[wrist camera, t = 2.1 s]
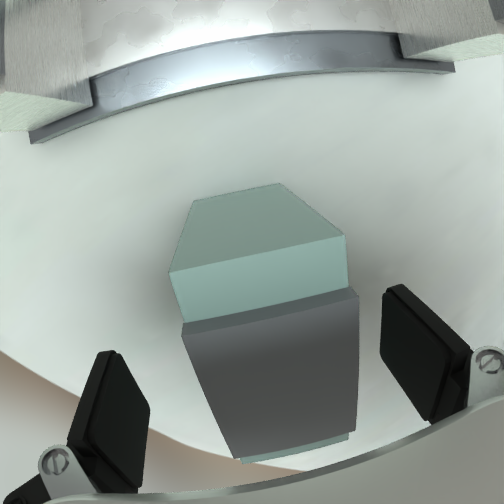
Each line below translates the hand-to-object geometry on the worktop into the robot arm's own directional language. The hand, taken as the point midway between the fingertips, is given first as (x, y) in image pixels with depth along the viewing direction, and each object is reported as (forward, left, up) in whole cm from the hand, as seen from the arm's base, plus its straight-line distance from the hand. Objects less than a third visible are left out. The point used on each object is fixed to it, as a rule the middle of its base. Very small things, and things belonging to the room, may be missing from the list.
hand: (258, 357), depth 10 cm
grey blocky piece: (-3, -15, -8) cm, 17 cm away
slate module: (-1, 0, -8) cm, 8 cm away
